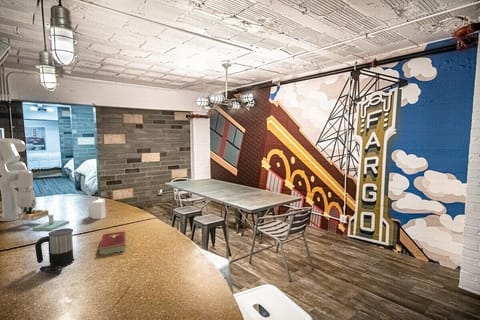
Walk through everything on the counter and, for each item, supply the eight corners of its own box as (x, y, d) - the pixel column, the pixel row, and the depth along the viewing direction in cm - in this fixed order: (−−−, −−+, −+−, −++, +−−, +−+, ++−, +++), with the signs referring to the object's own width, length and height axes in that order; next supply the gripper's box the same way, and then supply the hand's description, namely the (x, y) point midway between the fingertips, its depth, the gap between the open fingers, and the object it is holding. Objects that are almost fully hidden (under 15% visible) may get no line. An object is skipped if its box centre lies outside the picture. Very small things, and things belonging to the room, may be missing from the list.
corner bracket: (101, 218, 179) (100, 202, 178) (85, 218, 179) (85, 202, 178) (109, 214, 190) (108, 198, 189) (94, 214, 190) (94, 198, 189)
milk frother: (70, 256, 121) (69, 226, 120) (83, 266, 111) (81, 234, 110) (33, 268, 110) (31, 235, 109) (43, 280, 100) (40, 244, 99)
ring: (18, 219, 163) (18, 214, 163) (34, 214, 174) (33, 209, 174) (33, 220, 162) (33, 215, 162) (48, 215, 173) (48, 210, 173)
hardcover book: (98, 256, 122) (98, 248, 121) (102, 240, 141) (102, 233, 141) (125, 252, 127) (125, 244, 126) (126, 237, 146) (125, 230, 145)
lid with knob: (32, 229, 157) (31, 218, 157) (51, 222, 171) (51, 211, 170) (51, 230, 156) (50, 218, 155) (69, 223, 170) (68, 212, 169)
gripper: (9, 190, 164) (11, 217, 166) (31, 191, 162) (32, 219, 164) (21, 187, 171) (22, 214, 173) (41, 188, 170) (43, 215, 171)
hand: (27, 216), depth 169 cm, fingers closed on ring, 1 cm apart
